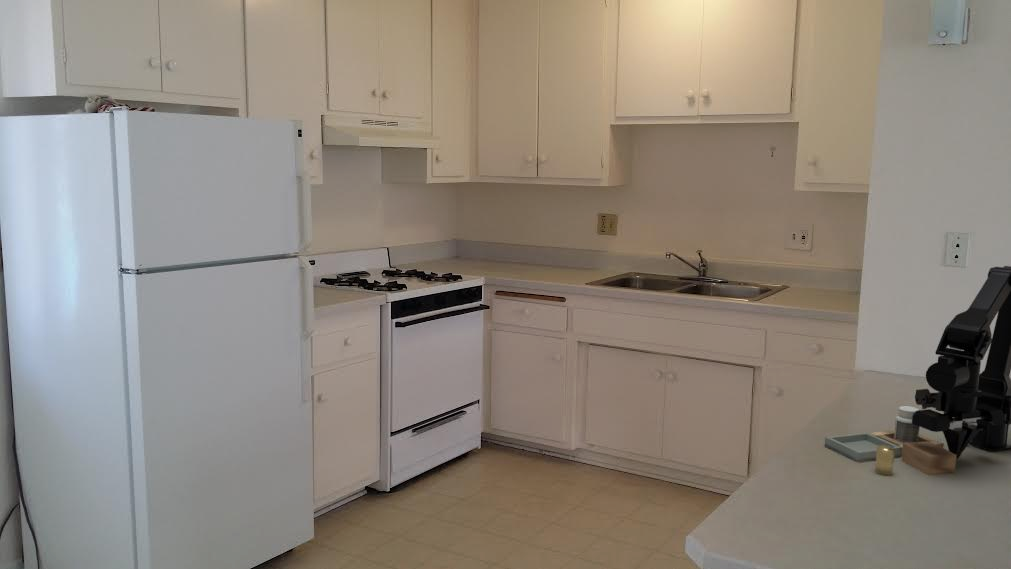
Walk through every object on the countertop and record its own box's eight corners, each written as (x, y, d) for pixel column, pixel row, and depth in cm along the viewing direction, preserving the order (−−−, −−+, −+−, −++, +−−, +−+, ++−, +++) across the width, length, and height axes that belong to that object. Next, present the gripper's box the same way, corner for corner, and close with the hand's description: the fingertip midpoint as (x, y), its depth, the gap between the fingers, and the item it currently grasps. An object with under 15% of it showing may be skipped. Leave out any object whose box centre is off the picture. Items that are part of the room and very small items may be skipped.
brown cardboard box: (927, 460, 176) (928, 441, 175) (954, 474, 168) (956, 454, 167) (901, 461, 174) (903, 442, 174) (927, 476, 167) (929, 456, 166)
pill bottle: (921, 450, 181) (925, 412, 179) (899, 449, 181) (902, 411, 179) (911, 442, 185) (915, 405, 184) (889, 442, 185) (893, 405, 184)
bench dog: (884, 468, 169) (886, 444, 169) (896, 474, 166) (898, 449, 166) (871, 470, 168) (873, 445, 168) (883, 476, 165) (885, 451, 165)
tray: (866, 441, 186) (866, 432, 185) (900, 456, 176) (901, 447, 176) (824, 446, 182) (825, 437, 182) (857, 462, 173) (858, 452, 172)
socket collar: (906, 436, 189) (907, 428, 189) (943, 451, 180) (943, 443, 180) (869, 440, 186) (869, 432, 186) (903, 456, 177) (904, 448, 176)
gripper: (964, 370, 181) (957, 441, 184) (894, 376, 175) (888, 449, 177) (1010, 384, 171) (1002, 458, 173) (938, 391, 165) (930, 468, 167)
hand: (954, 458), depth 173 cm, fingers closed
